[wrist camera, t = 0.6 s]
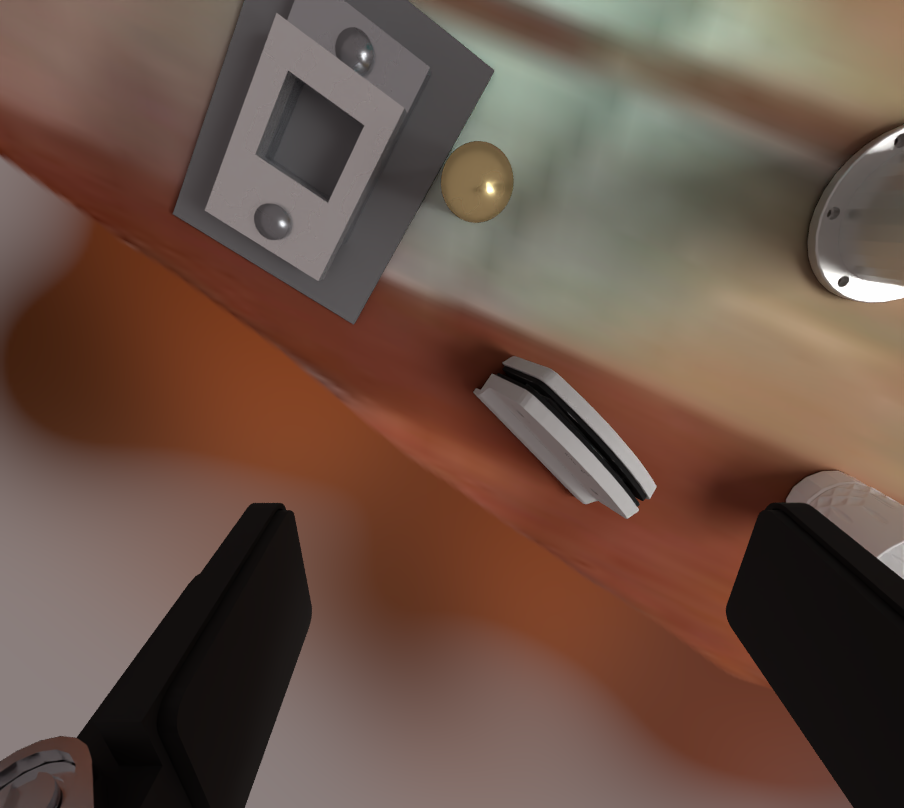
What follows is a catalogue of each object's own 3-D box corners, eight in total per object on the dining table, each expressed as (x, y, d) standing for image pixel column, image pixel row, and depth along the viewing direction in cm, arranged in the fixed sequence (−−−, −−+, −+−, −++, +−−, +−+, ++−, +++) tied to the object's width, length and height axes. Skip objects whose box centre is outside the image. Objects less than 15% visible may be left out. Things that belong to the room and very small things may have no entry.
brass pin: (466, 151, 31) (467, 124, 22) (509, 184, 32) (528, 170, 23) (437, 201, 33) (427, 195, 24) (480, 231, 34) (486, 237, 24)
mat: (282, -98, 26) (279, -104, 26) (493, 72, 29) (494, 70, 29) (176, 214, 34) (172, 214, 33) (354, 323, 37) (353, 324, 36)
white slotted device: (469, 389, 39) (507, 408, 29) (505, 352, 39) (554, 360, 30) (578, 500, 44) (641, 548, 34) (609, 467, 44) (681, 505, 34)
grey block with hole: (313, -17, 27) (293, -49, 24) (431, 74, 29) (427, 56, 26) (226, 211, 33) (200, 210, 30) (329, 276, 35) (316, 282, 32)
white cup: (810, 540, 45) (898, 622, 36) (761, 504, 43) (841, 580, 34) (878, 490, 42) (992, 565, 33) (829, 450, 41) (935, 517, 32)
